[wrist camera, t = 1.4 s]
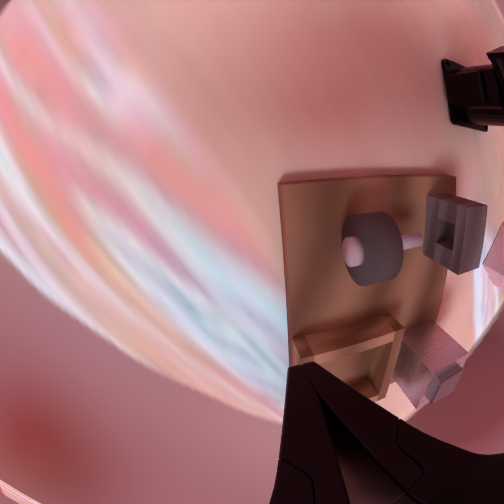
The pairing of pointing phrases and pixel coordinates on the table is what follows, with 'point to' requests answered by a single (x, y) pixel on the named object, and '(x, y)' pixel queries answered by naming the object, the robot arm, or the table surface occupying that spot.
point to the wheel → (375, 247)
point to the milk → (496, 260)
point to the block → (428, 364)
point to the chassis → (376, 295)
